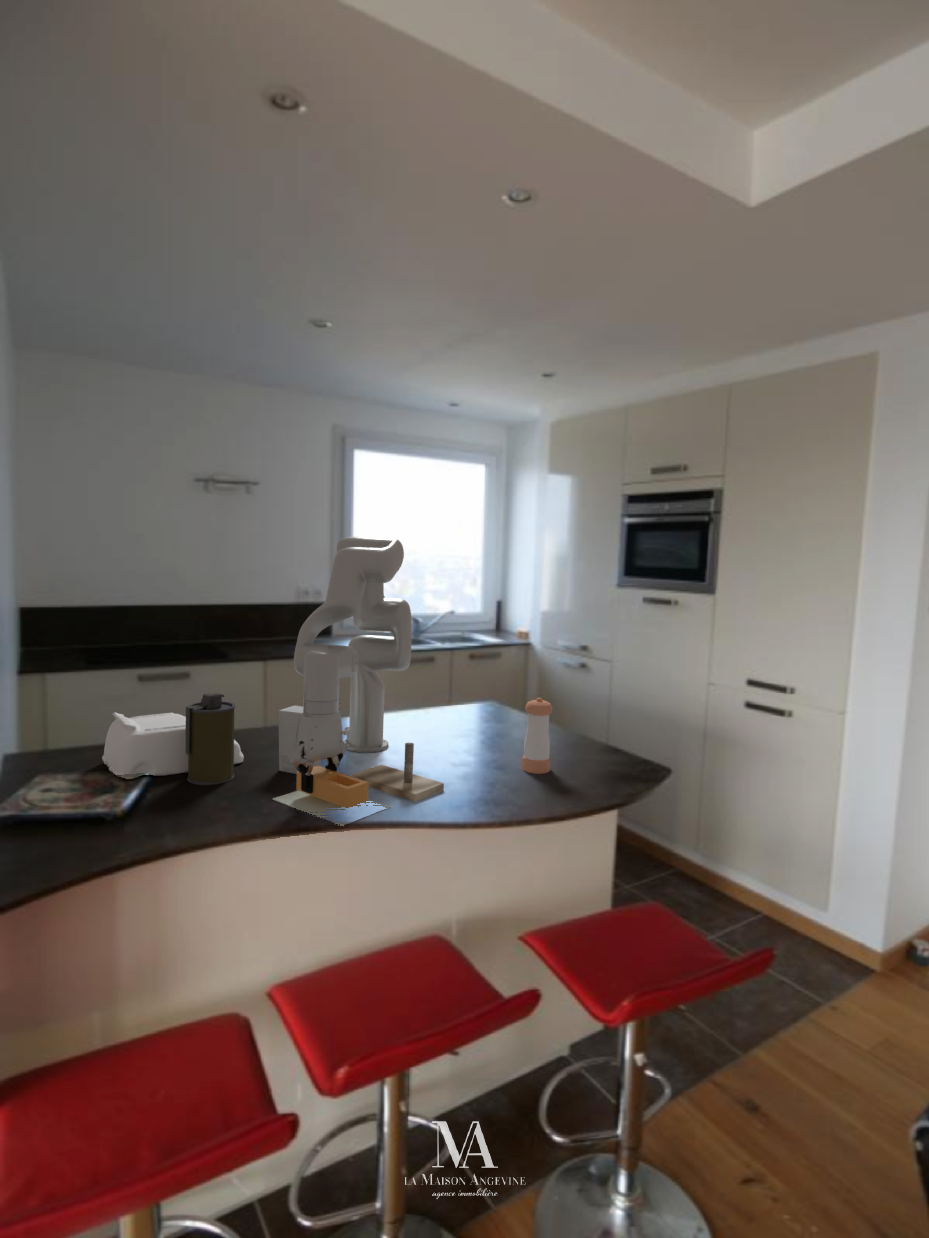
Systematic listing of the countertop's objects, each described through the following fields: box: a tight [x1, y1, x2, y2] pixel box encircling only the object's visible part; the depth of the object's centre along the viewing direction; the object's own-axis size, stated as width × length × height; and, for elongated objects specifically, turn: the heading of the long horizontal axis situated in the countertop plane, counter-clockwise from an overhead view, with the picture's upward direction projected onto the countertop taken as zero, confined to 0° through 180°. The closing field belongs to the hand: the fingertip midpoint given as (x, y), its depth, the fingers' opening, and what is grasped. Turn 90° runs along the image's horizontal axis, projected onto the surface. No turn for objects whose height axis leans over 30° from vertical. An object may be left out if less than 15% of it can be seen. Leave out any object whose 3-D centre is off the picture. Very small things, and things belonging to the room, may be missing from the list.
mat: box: [272, 790, 391, 827], centre depth 144 cm, size 22×14×1 cm, turn 53°
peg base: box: [351, 742, 445, 803], centre depth 156 cm, size 20×10×11 cm, turn 53°
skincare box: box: [278, 705, 321, 775], centre depth 165 cm, size 8×7×16 cm
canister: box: [185, 692, 236, 786], centre depth 156 cm, size 11×10×20 cm
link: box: [295, 765, 369, 808], centre depth 143 cm, size 16×6×4 cm, turn 53°
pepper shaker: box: [521, 697, 554, 775], centre depth 173 cm, size 7×7×19 cm
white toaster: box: [101, 712, 245, 777], centre depth 166 cm, size 19×30×13 cm, turn 128°
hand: (319, 787), depth 146 cm, fingers closed on link, 6 cm apart
